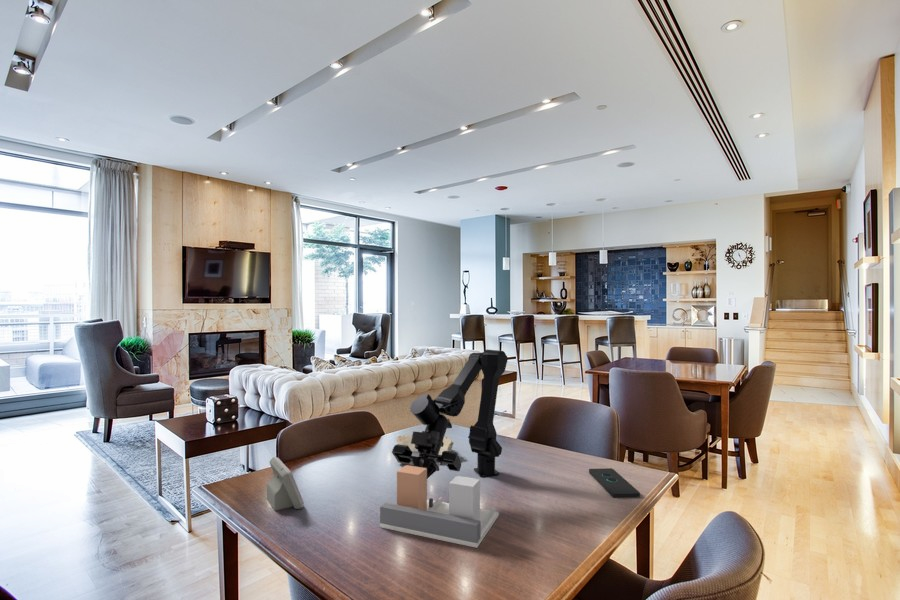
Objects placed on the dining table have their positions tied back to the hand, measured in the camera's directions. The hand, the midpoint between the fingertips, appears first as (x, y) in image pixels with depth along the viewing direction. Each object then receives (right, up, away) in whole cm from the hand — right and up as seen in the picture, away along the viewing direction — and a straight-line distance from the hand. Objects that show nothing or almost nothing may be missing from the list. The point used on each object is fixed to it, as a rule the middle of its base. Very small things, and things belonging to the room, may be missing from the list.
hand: (416, 487), depth 124 cm
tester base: (+6, -7, -4) cm, 10 cm away
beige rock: (-1, -7, +48) cm, 49 cm away
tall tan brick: (-1, -5, -3) cm, 6 cm away
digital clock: (-36, -7, +7) cm, 38 cm away
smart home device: (+58, -8, +20) cm, 62 cm away
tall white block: (+12, -6, -10) cm, 17 cm away
